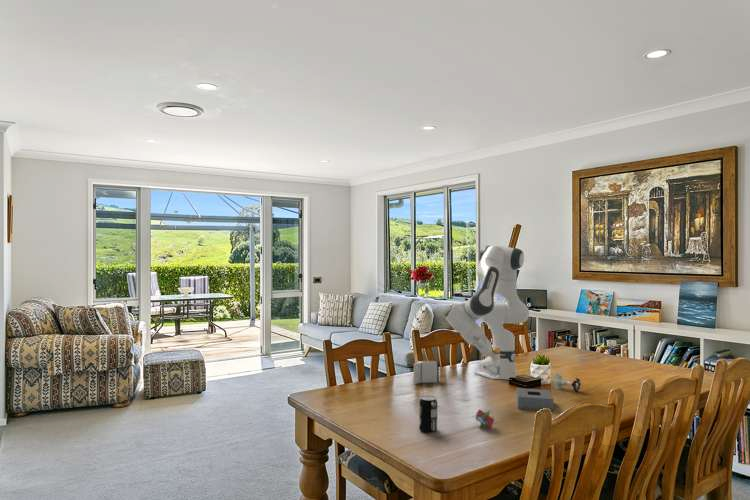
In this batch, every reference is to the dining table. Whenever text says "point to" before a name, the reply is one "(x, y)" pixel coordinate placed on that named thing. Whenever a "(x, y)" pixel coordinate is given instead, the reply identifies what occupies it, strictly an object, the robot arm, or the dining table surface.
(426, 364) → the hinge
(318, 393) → the dining table surface
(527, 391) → the socket block
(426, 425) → the beverage can
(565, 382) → the valve
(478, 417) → the geometric puzzle
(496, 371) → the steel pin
